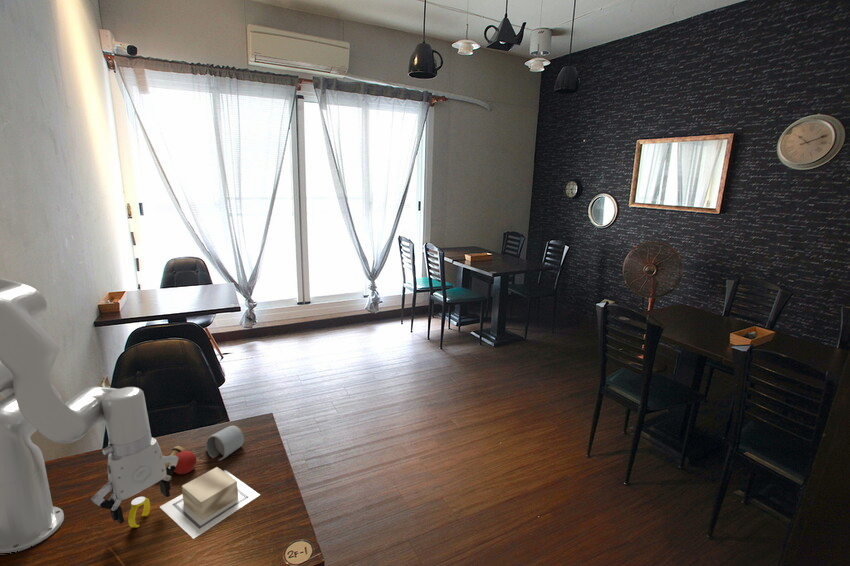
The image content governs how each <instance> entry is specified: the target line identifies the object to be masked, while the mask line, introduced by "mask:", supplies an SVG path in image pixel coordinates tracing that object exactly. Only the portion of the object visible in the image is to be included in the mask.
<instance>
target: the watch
mask: <svg viewBox="0 0 850 566" xmlns="http://www.w3.org/2000/svg"><path fill="white" fill-rule="evenodd" d="M150 501H151V500H150V499H149V498H148V497H145V496H138V497H136V498H134V499H132V500H131V502H130V506H131V508H130V510H129V513H128V518H127V519H128V520H127V522H128V525H129V527H130V528H139V527H140V524H137V523H136V515H137V511H138V510H139V507H141V506H143V510H142V514H141V517H148V516H149V514H150V511H151V502H150Z"/></svg>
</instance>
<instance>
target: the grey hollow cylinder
mask: <svg viewBox="0 0 850 566" xmlns="http://www.w3.org/2000/svg"><path fill="white" fill-rule="evenodd" d="M244 442H245V434H244V432H243V429H241V427H239V426H237V425H235V424H234V425H229V426H227V427H225V428H223V429H221V430H219V431H217V432H215V433H214V434H211V435H210V436H208V437H207V439H206V442H205V448H206V449H205V450H206V451H207V453H208V455H209V456H210V457H211V458H212V459H215V458H217V457H218V456H220V454H221V455H222V457H219V458H217V460H218V461H223V460H224V459H226V458H227V457H228V456H229V455H231V454H232V453H234V452H235V451H237V450H239V449H240V448H241V447H242V446H243V444H244Z"/></svg>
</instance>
